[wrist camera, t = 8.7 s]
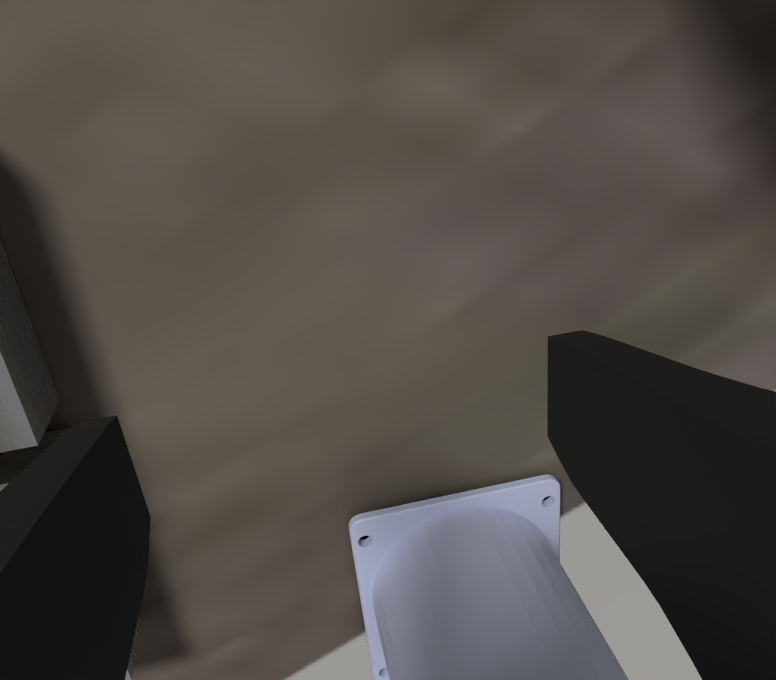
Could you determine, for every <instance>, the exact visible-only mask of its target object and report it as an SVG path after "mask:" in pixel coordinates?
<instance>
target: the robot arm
mask: <svg viewBox="0 0 776 680" xmlns="http://www.w3.org/2000/svg"><path fill="white" fill-rule="evenodd" d="M548 438H549V440H550V442H551V444H552V446H553V448H554V450H555V452H556V454H557V456H558V458H559V460H560V462H561V463H562V465H563V467H564V469H565V471H566V473H567V474H568V476H569V478H570V480H571V482H572V483H573V485H574V486H575V487H576V489H577V490H578V492H579V493H580V495H581V496H582V497H583V499H584V500H585V502H586V503H587V504H588V506H589V507H590V508H591V510H592V511H593V513H594V514H595V515H596V517H597V518H598V519H599V521H600V522H601V524H602V525H603V526H604V528H605V529H606V530H607V532H608V533H609V534H610V536H611V537H612V539H613V540H614V541H615V543H616V544H617V545H618V547H619V548H620V550H621V551H622V552H623V554H624V555H625V556H626V558H627V559H628V560H629V562H630V563H631V564H632V566H633V567H634V568H635V570H636V571H637V573H638V574H639V575H640V577H641V578H642V580H643V581H644V582H645V584H646V585H647V587H648V588H649V590H650V591H651V593H652V594H653V596H654V597H655V599H656V600H657V602H658V603H659V605H660V606H661V608H662V610H663V612H664V613H665V615H666V617H667V618H668V620H669V622H670V624H671V625H672V627H673V629H674V630H675V632H676V634H677V636H678V637H679V639H680V641H681V642H682V644H683V646H684V648H685V650H686V651H687V653H688V654H689V656H690V658H691V660H692V661H693V663H694V665H695V667H696V669H697V671H698V673H699V674H700V676H701V678H702V680H776V392H774V391H770V390H766V389H762V388H759V387H755V386H751V385H748V384H745V383H741V382H738V381H735V380H731V379H728V378H725V377H721V376H718V375H715V374H712V373H709V372H705V371H702V370H699V369H696V368H693V367H690V366H687V365H685V364H682V363H679V362H676V361H673V360H670V359H667V358H664V357H662V356H659V355H656V354H653V353H651V352H648V351H645V350H642V349H639V348H637V347H634V346H631V345H628V344H625V343H623V342H620V341H617V340H614V339H611V338H608V337H605V336H601V335H598V334H595V333H591V332H587V331H582V330H581V331H576V332H570V333H565V334H559V335H554V336H548ZM547 496H550V497H549V498H548V499H547V500H545V501H542V500H543V499H544V498H545V497H547ZM349 533H350V539H351V545H352V551H353V557H354V563H355V569H356V575H357V581H358V587H359V593H360V600H361V606H362V612H363V618H364V624H365V630H366V636H367V642H368V648H369V654H370V660H371V666H372V672H373V678H374V680H628V678H627V676H626V675H625V673H624V671H623V669H622V668H621V666H620V665H619V663H618V661H617V659H616V658H615V656H614V654H613V652H612V651H611V649H610V647H609V646H608V644H607V642H606V641H605V639H604V637H603V636H602V634H601V632H600V630H599V629H598V627H597V625H596V624H595V622H594V620H593V618H592V617H591V615H590V613H589V612H588V610H587V608H586V607H585V605H584V603H583V601H582V600H581V598H580V596H579V595H578V593H577V591H576V590H575V588H574V586H573V585H572V583H571V581H570V579H569V578H568V576H567V574H566V573H565V571H564V569H563V568H562V566H561V564H560V562H559V558H560V557H559V556H560V555H559V554H560V553H559V551H560V484H559V482H558V481H557V479H556V478H555V477H554V476H552V475H541V476H536V477H532V478H527V479H522V480H517V481H513V482H508V483H503V484H498V485H494V486H489V487H484V488H480V489H475V490H470V491H465V492H461V493H456V494H451V495H446V496H442V497H437V498H432V499H427V500H423V501H418V502H413V503H409V504H404V505H399V506H394V507H390V508H385V509H380V510H375V511H371V512H366V513H361V514H358V515H356V516H354V517H353V518H352V519H351V520H350V522H349ZM149 534H150V514H149V511H148V508H147V505H146V502H145V499H144V496H143V493H142V490H141V487H140V484H139V481H138V478H137V475H136V472H135V469H134V466H133V463H132V460H131V457H130V454H129V451H128V448H127V445H126V442H125V439H124V435H123V432H122V429H121V426H120V423H119V420H118V417H117V416H113V417H107V418H102V419H96V420H91V421H85V422H80V423H77V424H75V425H74V426H73V427H71V428H70V429H69V430H67V431H66V432H65V433H64V434H63V435H61V436H60V437H59V438H58V439H57V440H56V441H55V442H54V443H52V444H51V445H50V446H49V447H48V448H47V449H46V450H45V451H44V452H43V453H41V454H40V455H39V456H38V457H37V458H36V459H35V460H34V461H33V462H32V463H31V464H30V465H28V466H27V467H26V468H25V469H24V470H23V471H22V472H21V473H20V474H19V475H18V476H16V477H15V478H14V479H13V480H12V481H11V482H10V483H9V484H8V485H7V486H5V487H4V488H3V489H2V490H1V491H0V680H125V677H126V672H127V668H128V663H129V658H130V653H131V649H132V644H133V639H134V634H135V630H136V625H137V620H138V615H139V610H140V605H141V600H142V596H143V591H144V586H145V580H146V575H147V566H148V552H149ZM363 536H369V537H368V538H367V539H365V540H360V538H361V537H363Z"/></svg>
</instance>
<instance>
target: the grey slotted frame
mask: <svg viewBox="0 0 776 680" xmlns="http://www.w3.org/2000/svg"><path fill="white" fill-rule="evenodd" d="M59 401H60V399H59V396H58V393H57V391H56V388H55V385H54V383H53V380H52V377H51V374H50V372H49V369H48V366H47V364H46V361H45V358H44V355H43V353H42V350H41V347H40V345H39V342H38V339H37V336H36V334H35V331H34V328H33V326H32V323H31V320H30V317H29V315H28V312H27V309H26V307H25V304H24V301H23V299H22V296H21V293H20V290H19V288H18V285H17V282H16V280H15V277H14V274H13V271H12V269H11V266H10V263H9V261H8V258H7V255H6V252H5V250H4V247H3V244H2V242H1V239H0V453H1V452H3V454H2V456H1V457H0V491H1V490H2V489H3V488H4V487H5V486H7V485H8V484H9V483H10V482H11V481H12V480H13V479H14V478H15V477H16V476H18V475H19V474H20V473H21V472H22V471H23V470H24V469H25V468H26V467H27V466H28V465H30V464H31V463H32V462H33V461H34V460H35V459H36V458H37V457H38V456H39V455H40V454H41V453H43V452H44V451H45V450H46V449H47V448H48V447H49V446H50V445H51V444H52V443H54V442H55V441H56V440H57V439H58V438H59V437H60V436H61V435H63V434H64V433H65V432H66V431H67V430H69V429H70V428H64V429H59V430H53V431H48V432H45V430H46V428H47V426H48V424H49V422H50V420H51V417H52V415H53V413H54V411H55V409H56V407H57V405H58V403H59ZM140 627H141V618H140V616H139V615H138V620H137V625H136V630H135V634H134V639H133V644H132V649H131V653H130V658H129V663H128V668H127V672H126V677H125V680H132V675H133V669H134V663H135V657H136V651H137V645H138V639H139V633H140Z"/></svg>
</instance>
